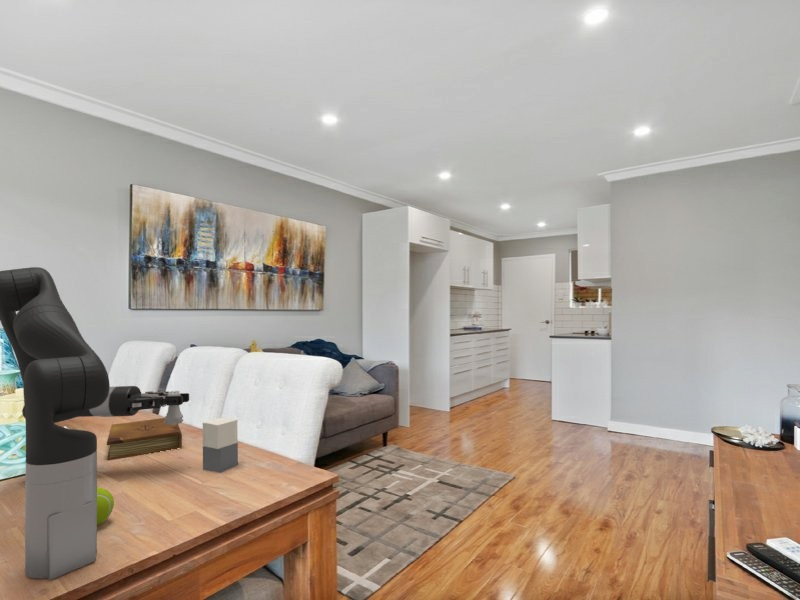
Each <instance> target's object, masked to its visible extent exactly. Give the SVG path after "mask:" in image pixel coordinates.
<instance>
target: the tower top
mask: <svg viewBox="0 0 800 600" xmlns="http://www.w3.org/2000/svg"><path fill="white" fill-rule="evenodd" d="M238 440H239V439H238V419H235V418H229V417H228V418H227V417H222V416H221V417H220V418H216V419H211V420H207V421H203V422H202V447H203V446H206V447H211V448H215V449H220V448H223V447H226V446H229V445H232V444H235V443H238ZM238 444H239V443H238Z"/></svg>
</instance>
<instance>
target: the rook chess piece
mask: <svg viewBox="0 0 800 600" xmlns="http://www.w3.org/2000/svg"><path fill="white" fill-rule="evenodd" d="M173 391H174V390H171V391H167V392H168V395H167V396H181V394H180V393H181V392H180V390H175V391H174V393H173ZM167 407H168V408H167V412H166V415H165V417H164V418H165V420H166V421H165V422H164V423H165V424H166V425H175V424H178V425H179V424H181V423H183V421H184V415H183V413H182V411H181V408H180V405H168V406H167Z"/></svg>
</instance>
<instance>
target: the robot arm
mask: <svg viewBox="0 0 800 600" xmlns="http://www.w3.org/2000/svg"><path fill="white" fill-rule="evenodd" d="M0 323H1V325H2V328H3V330H4V333H5V335H6V338H7V340H8V342H9V344H10V345H11V348H12V350H13V353H14V355H15V358H16V361H17V365H18V369H19V373H20V377H21V380H22V383H23V384H22V386H23V402H24V403H23V404H24V405H23V407H22V410H21V412H22V413H21V414H22V417H23V418H24V419H25V487H24V488H25V492H24V493H25V499H24V500H25V501H24V505H25V506H24V507H25V508H24V509H25V510H24V512H25V513H24V514H25V515H24V516H25V517H24V522H25V524H24V539H25V540H24V549H25V550H24V574H25V573H26V574H25V575H26V576H27V577H28V578H30V577H31V579H47V580H50V581H51V580H54V579H56V578H58V577H61V576H63V575H65V574H67V573H70V572H72V571H75V570H78V569H79V568H82V567H84V566H86V565H88V564H89V565H90V564H91V563H93V562H95V561H97V552H98V539H97V538H98V525H97V487H98V484H97V482H98V477H97V476H98V469H97V468H98V438H97V435H96V433H94V432H92V431H89V430H82V429H74V428H73V429H72V428H66V427H63V426H61V425H58V424H56V423H59V422H65V421H68V420H69V421H70V420H72V419H76V418H80V417H81V418H84V417H88V418H90V417H100V418H101V417H102V418H109V417H110V418H111V417H115V418H116V417H132V416H133V417H134V416H135V415H136V414H137V413H138V412H139V411H142V410H154V409H159V408H165V407H169V405H179V406H181V405H183V403H188V402H189V401H190V393H189V392H188V393H187V392H186V393H182V392H179V393H180V394H181V396H167V395H168V392H169V391H165V390H164V391H163V390H158V391H153V390H152V391H151V390H150V391H144V392H145V393H144V392H143V393H142V391H141V389H140V388H139V387H138V386H136V385H124V386H123V385H122V386H121V385H119V386H117V385H116V386H111V384H110V378H109V373H108V371H107V368H106V366H105V364H104V363H103V360H101V358H100V357H99V355H98V354H97V353H96V352H95V350H93V349H92V347H91V346H90V345H89V344H88V343H87V342H86V341H85V339H84V337H83V336H82V334H81V332H80V330H79V328H78V326H77V324H76V322H75V320H74V318H73V316H72V315H71V314H70V312H69V310H68V308H67V307H66V306H65V304H64V303H63V301H62V298H61V297H60V294H59V291H58V288H57V286H56V284H55V281H54V278H53V277H52V275H51V274H50V272H49V271H48V270H47V269H45V268H44V267H37V266H34V267H32V266H31V267H25V268H24V267H23V268H15V269H6V270H0ZM172 391H173V393H174V392H175V391H174V390H172Z"/></svg>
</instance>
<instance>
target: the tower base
mask: <svg viewBox="0 0 800 600" xmlns="http://www.w3.org/2000/svg"><path fill="white" fill-rule="evenodd" d="M238 444H239V443H235V444H232V445H229V446H226V447H223V448H220V449H215V448H211V447H206V446H203V445H202V471H206V472H207V471H208V472H213V471H214V472H215V473H223V472H225V470H226V471H227V469H228V470H230V469H232V468H234V467H236V466H238V465H239V451H238V450H239V449H238V448H239V445H238ZM229 468H230V469H229Z"/></svg>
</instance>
